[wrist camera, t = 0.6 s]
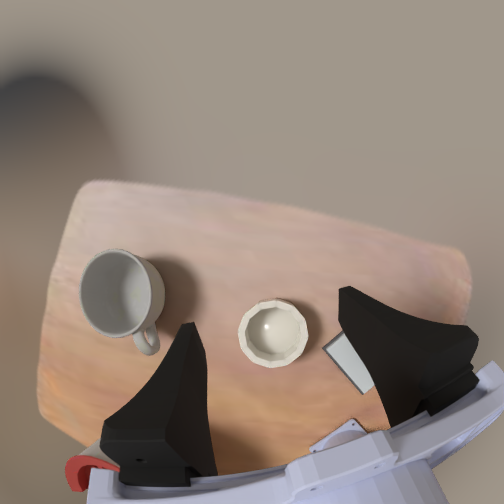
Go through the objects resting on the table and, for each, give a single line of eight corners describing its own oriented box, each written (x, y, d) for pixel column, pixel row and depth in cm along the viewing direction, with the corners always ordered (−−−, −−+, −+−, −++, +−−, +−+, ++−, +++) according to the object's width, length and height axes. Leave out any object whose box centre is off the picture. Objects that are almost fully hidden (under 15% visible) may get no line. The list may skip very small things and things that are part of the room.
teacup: (102, 271, 39) (69, 268, 31) (159, 242, 38) (132, 233, 30) (133, 357, 37) (104, 371, 29) (195, 336, 36) (174, 349, 28)
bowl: (316, 332, 35) (321, 338, 31) (269, 369, 35) (268, 379, 31) (277, 286, 36) (277, 286, 32) (230, 324, 36) (224, 330, 32)
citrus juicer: (101, 421, 36) (28, 471, 16) (172, 390, 36) (98, 460, 16) (153, 486, 34) (106, 552, 14) (231, 465, 34) (203, 556, 14)
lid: (410, 348, 33) (423, 355, 29) (362, 392, 33) (371, 403, 29) (376, 303, 34) (387, 305, 30) (325, 348, 34) (331, 356, 30)
